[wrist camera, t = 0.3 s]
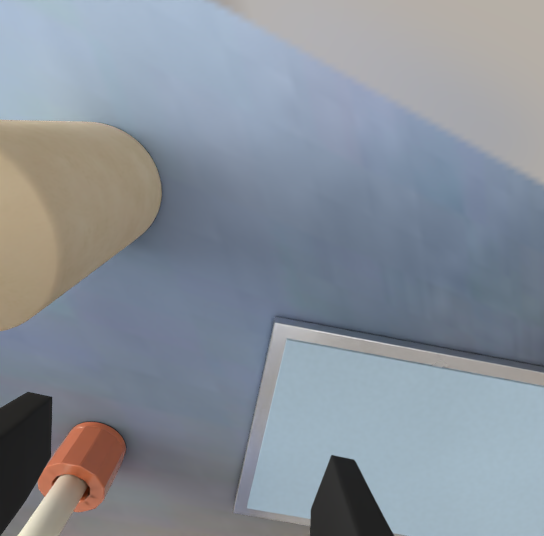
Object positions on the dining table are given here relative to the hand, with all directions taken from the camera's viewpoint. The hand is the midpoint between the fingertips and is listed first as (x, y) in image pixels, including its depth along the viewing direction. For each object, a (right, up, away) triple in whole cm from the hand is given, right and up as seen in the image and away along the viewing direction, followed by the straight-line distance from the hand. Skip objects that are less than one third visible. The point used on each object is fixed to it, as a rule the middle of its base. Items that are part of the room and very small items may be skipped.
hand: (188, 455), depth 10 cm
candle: (-6, +9, +8) cm, 13 cm away
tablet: (+12, -6, +13) cm, 18 cm away
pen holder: (-9, -6, +13) cm, 17 cm away
